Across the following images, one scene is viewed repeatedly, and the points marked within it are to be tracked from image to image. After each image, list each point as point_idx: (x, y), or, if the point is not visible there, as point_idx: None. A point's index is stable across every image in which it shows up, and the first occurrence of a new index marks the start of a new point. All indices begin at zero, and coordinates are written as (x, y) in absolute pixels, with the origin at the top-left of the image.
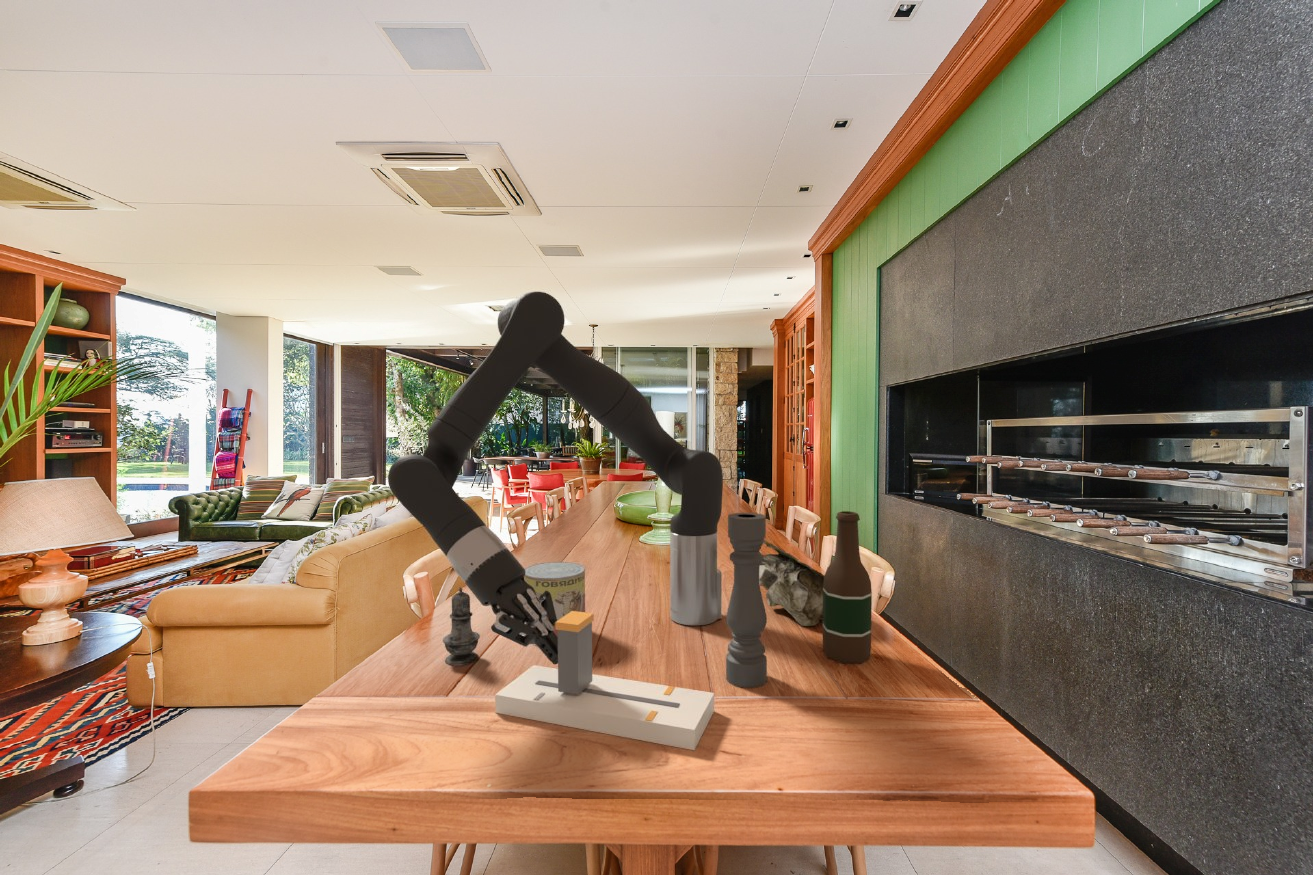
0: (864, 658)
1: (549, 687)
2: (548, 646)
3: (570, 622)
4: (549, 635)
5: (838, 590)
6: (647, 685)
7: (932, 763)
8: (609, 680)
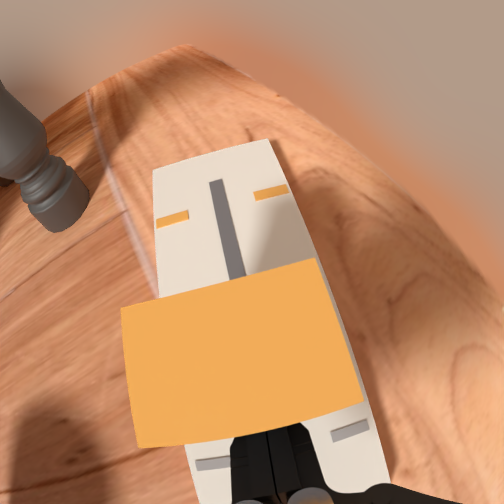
0: None
1: None
2: (317, 460)
3: (313, 320)
4: (290, 486)
5: None
6: (167, 262)
7: (183, 67)
8: None
